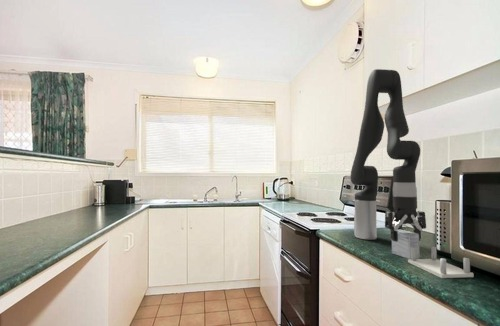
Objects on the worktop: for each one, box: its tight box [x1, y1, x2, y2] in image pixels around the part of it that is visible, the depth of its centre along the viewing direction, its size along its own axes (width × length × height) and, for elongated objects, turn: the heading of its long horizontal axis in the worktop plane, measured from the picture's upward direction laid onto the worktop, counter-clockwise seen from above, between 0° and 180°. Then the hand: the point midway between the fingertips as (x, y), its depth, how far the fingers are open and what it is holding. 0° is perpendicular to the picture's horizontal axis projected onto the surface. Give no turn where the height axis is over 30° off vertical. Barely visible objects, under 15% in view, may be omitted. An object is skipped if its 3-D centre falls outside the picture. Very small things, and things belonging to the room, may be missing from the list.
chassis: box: [407, 246, 474, 279], centre depth 79 cm, size 13×10×5 cm
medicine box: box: [391, 228, 421, 260], centre depth 92 cm, size 8×4×9 cm, turn 17°
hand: (405, 240), depth 92 cm, fingers open, 8 cm apart
